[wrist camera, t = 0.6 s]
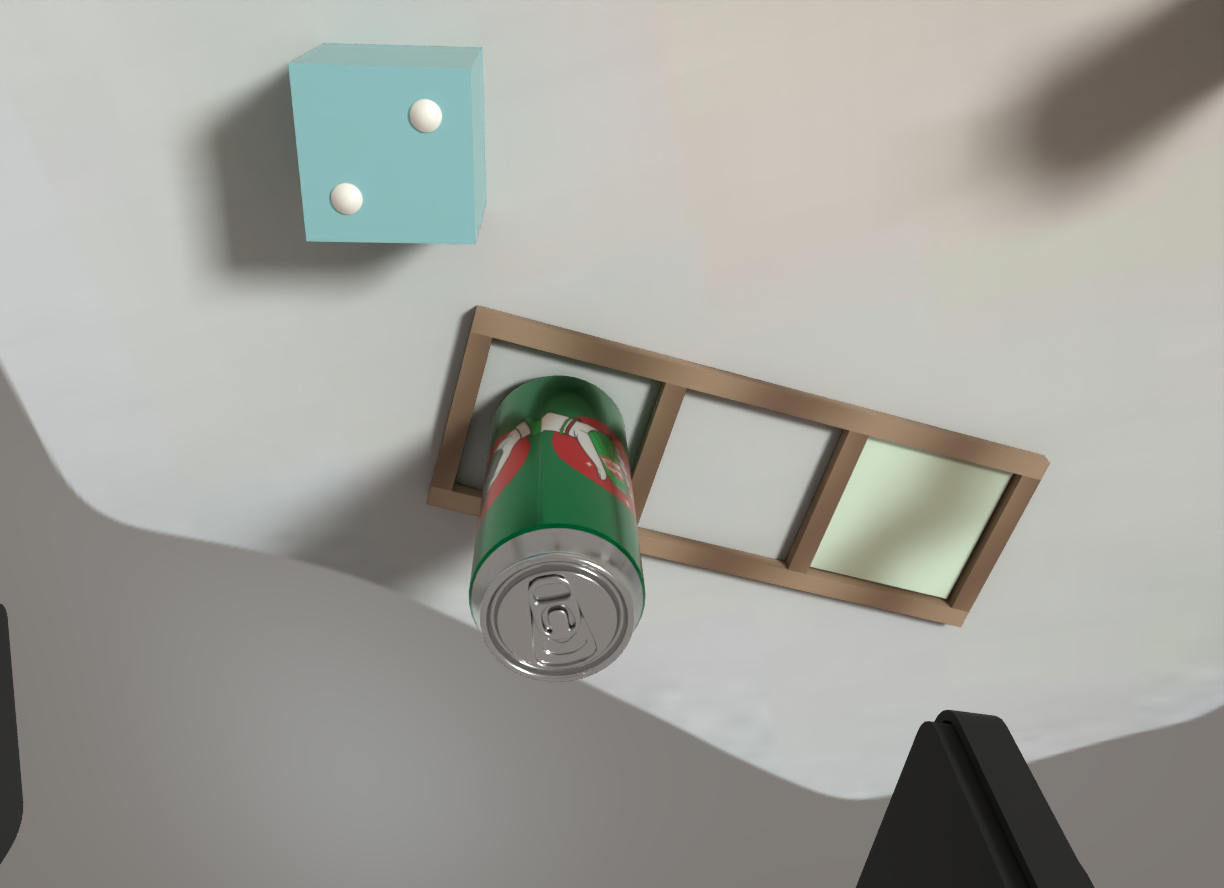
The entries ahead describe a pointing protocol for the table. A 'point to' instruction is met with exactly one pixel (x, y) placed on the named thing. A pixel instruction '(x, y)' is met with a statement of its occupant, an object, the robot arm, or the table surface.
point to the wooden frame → (844, 501)
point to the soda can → (557, 533)
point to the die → (390, 142)
